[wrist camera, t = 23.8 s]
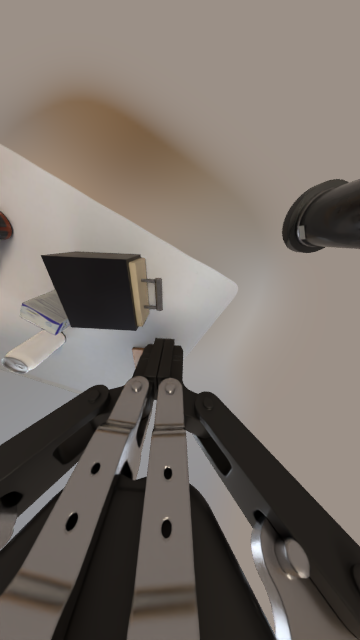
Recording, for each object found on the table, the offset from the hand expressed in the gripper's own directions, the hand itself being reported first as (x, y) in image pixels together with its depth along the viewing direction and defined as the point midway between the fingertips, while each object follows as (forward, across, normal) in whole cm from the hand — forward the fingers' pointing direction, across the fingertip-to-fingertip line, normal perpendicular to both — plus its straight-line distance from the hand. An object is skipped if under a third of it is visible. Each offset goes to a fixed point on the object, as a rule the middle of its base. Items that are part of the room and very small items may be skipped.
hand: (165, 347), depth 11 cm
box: (+25, +30, +9) cm, 40 cm away
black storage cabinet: (+25, +16, +3) cm, 30 cm away
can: (+25, +38, +20) cm, 50 cm away
